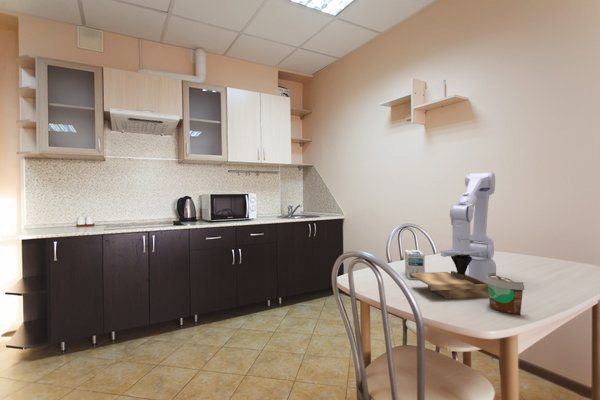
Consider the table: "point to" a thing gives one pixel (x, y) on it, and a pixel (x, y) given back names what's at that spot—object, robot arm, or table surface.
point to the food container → (504, 294)
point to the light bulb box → (414, 262)
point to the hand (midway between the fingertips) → (461, 275)
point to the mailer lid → (443, 280)
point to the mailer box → (467, 290)
